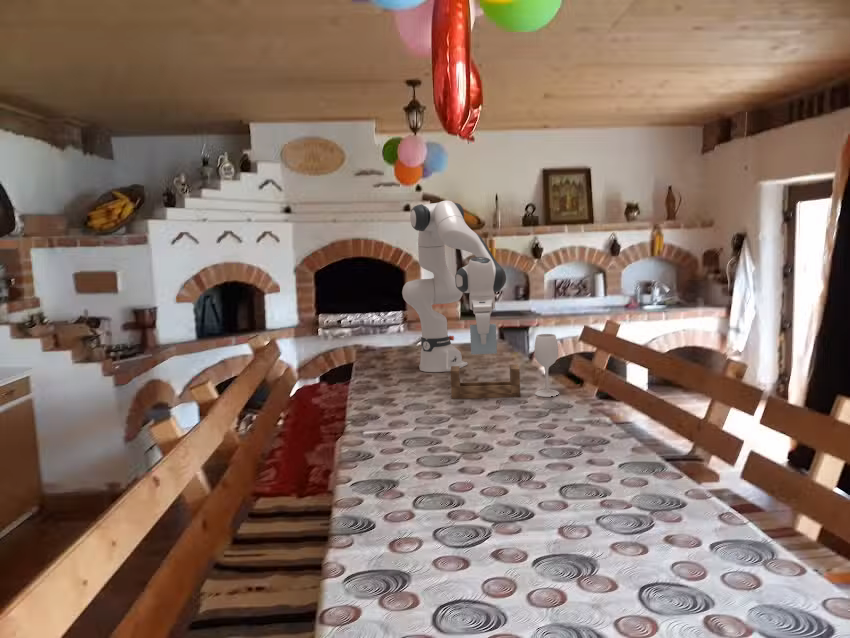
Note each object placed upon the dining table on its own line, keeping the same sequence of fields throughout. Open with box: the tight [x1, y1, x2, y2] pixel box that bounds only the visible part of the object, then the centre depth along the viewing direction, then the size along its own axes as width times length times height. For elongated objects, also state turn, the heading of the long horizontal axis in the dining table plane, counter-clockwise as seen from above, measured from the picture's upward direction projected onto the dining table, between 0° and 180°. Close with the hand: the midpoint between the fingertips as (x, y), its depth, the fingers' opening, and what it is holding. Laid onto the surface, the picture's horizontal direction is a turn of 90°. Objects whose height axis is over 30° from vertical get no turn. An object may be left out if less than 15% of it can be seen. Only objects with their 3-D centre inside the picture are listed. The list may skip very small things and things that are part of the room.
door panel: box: [469, 323, 498, 355], centre depth 231 cm, size 9×4×10 cm, turn 86°
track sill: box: [449, 363, 521, 400], centre depth 233 cm, size 24×8×10 cm, turn 86°
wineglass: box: [534, 333, 560, 398], centre depth 229 cm, size 9×9×21 cm
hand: (483, 342), depth 231 cm, fingers closed on door panel, 3 cm apart
